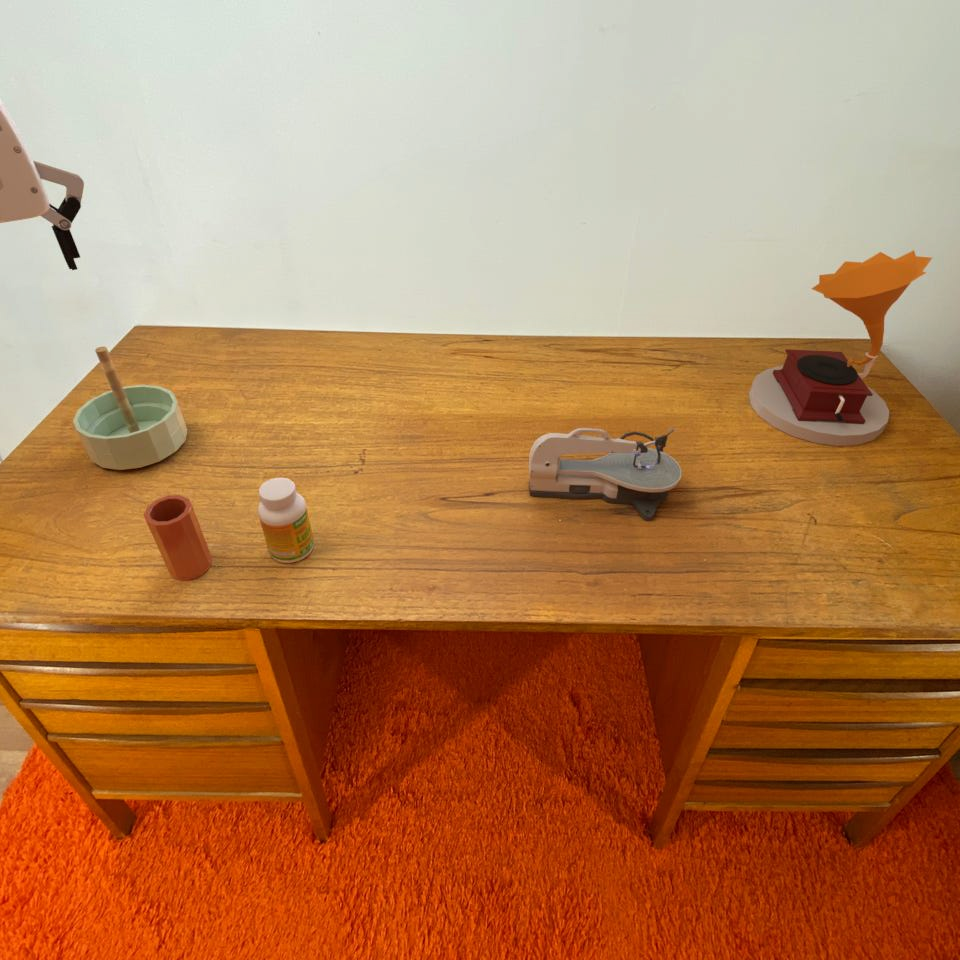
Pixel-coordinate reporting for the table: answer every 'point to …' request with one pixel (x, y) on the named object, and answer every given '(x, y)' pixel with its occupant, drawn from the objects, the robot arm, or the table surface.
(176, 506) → the utensil pot
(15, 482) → the table surface
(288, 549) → the supplement bottle
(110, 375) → the stick
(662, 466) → the jigsaw machine
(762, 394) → the gramophone
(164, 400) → the bowl
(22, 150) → the robot arm
